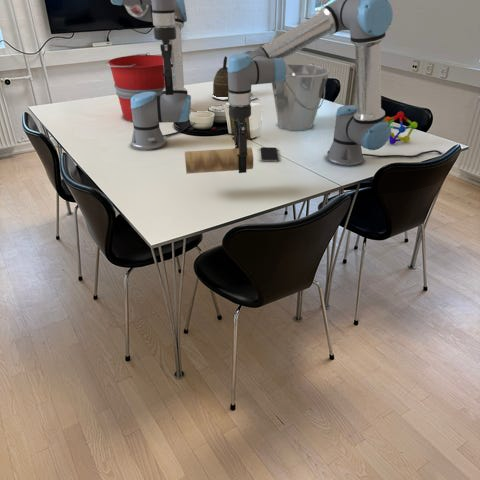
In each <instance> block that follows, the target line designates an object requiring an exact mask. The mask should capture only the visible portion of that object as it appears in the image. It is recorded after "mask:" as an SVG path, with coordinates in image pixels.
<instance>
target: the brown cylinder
mask: <svg viewBox="0 0 480 480" xmlns="http://www.w3.org/2000/svg"><path fill="white" fill-rule="evenodd" d="M238 154H239V148H235V147H234V148H220V149H205V150H191V151H189V150H187V151H184V162H185V171H186V175H190V174H203V173H204V174H205V173H217V172H232V171H234V172H235V171H239V165H238V156H237V155H238ZM247 154H248V155H247V156H246V171H248V170H253V169H254V152H253V148H252V146H250V147H249V146H248V147H247Z"/></svg>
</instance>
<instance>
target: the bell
mask: <svg viewBox="0 0 480 480" xmlns="http://www.w3.org/2000/svg"><path fill="white" fill-rule="evenodd" d="M227 65H228V57H227V56H224V58H223V63H222V67H221V68H219V69H218V70H217V71H216V73H215V75H214V78H213V81H212V83H213V84H212V95H214V96H216V97H228V91H229V87H228V72H227V70H228V66H227Z"/></svg>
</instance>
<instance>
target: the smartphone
mask: <svg viewBox="0 0 480 480" xmlns="http://www.w3.org/2000/svg"><path fill="white" fill-rule="evenodd" d="M278 155H279V154H278V149H277V147H273V146H272V147H268V146H267V147H266V146H263V147H260V159H261V161H262V162H279V156H278Z"/></svg>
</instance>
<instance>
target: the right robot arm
mask: <svg viewBox="0 0 480 480" xmlns="http://www.w3.org/2000/svg"><path fill="white" fill-rule="evenodd" d="M393 16H394V13H393V7H392V5H391V3H390V1H389V0H334V1H332V2H330V3H328V4H327V5H325V6H323V7H322V8H320V10H319V13H317V14H316V15H313V16H312V17H310V18H308V19H307V20H305V21H303V22H302V23H300V24H298V25H297V26H294V27H293V28H291V29H289V30H288V31H286V32H284V33H282V34H281V35H279V36H278V37H276V38H274V39H271V41H269V42H267V43H265V44H263V45H261V46H260V47H258V48H256V49H254V50H246V51H243V52H242V53H234V54H231V55H229V56H228V57H227V68H228V70H227V72H228V87H229V91H228V100H227V101H228V104H229V105H228V106H229V107H228V116H229V117H230V118H232V119H233V142H234V148H239V154H238V155H237V156H238V165H239V170H238V174H246V173H247V170H246V156H247V155H248V154H247V148H248V135H247V134H248V124H247V121H246V119H249V118H250V117H251V116H252V104H251V103H252V101H251V100H252V97H253V96H254V95H253V93H252V86H255V85H266V84H272V83H276V82H281V81H283V80H284V79H285V76H286V65H287V64H286V62H285V60H284V59H287V58H289V57H291V56H292V55H293V54H295V53H297V52H299V51H300V50H302V49H305V48H306V47H308V46H309V45H311V44H313V43H314V42H316V41H318V40H320V39H322V38H323V37H325V36H327V35H331V36H333V35H335V34H336V33H338V32H342V31H349V37H350V38H349V39H350V43H352V44H353V45H354V49H355V51H354V52H355V78H356V79H355V80H356V82H355V83H356V104H349V105H348V104H347V105H342V106H338V108H337V111H336V113H335V122H334V132H333V139H332V143H331V145H330V146H329V149H328V151H327V153H326V154H327V155H326V159H327V161H328V162H329V163H331V164H334V165H337V166H340V167H341V166H342V167H353V166H359V165H362V163H363V160H364V156H366V157H372V158H373V157H374V158H417V157H419V156H421V155H423V154H429V153H437V154H439V155H443V153H442V152H441V151H440V150H437V149H434V150H433V149H431V150H427V151H422V152H419V153H418V154H413V155H405V154H385V155H381V154H370V153H363V149H367V150H369V151H376V150H379V149H381V148H383V147H384V146H385V145H386V143H388V142H389V140H390V139H389V138H390V135H391V132H392V128H391V127H390V126H391V124H390V125H389V124H388V123H387V122H385V118H386V111H385V110H384V108H382V41H383V40H384V39H386V32H387V31H388V30H389V29H390V26H391V25H392V22H393V18H394V17H393ZM362 148H363V149H362Z"/></svg>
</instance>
